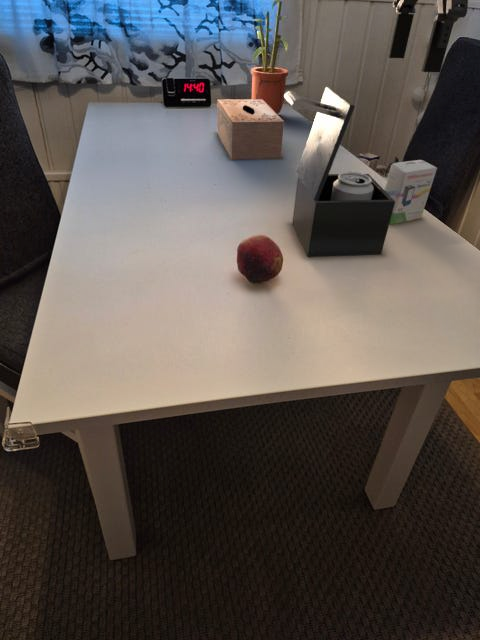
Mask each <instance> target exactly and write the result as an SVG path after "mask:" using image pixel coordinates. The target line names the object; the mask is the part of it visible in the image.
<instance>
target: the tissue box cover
mask: <svg viewBox="0 0 480 640" xmlns="http://www.w3.org/2000/svg"><path fill="white" fill-rule="evenodd" d="M216 101H217V106H216V107H217V109H216V110H217V111H216V112H217V113H216V114H217V117H216V119H217V120H216V121H217V122H216V123H217V124H216V126H217V130H216V132H217V135H218V137H219V139H220V141H221V143H222V145H223V147H224V148H225V151H226V153H227V155H228V156H229V158H230V160H232V161H235V160H266V159H267V160H268V159H272V160H273V159H282V149H283V138H284V127H285V121H284V119H283V118H281V117H280V116H279V114H276V113H275V112H274V111H273V110H272V109H271V108H270V107H269V106H268V105H267V104H266V102H265V101H264V100H263V99H252V98H251V99H250V98H249V99H247V98H246V99H245V98H244V99H239V98H238V99H235V98H234V99H232V98H231V99H230V98H229V99H217V100H216Z"/></svg>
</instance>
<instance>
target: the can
mask: <svg viewBox="0 0 480 640" xmlns="http://www.w3.org/2000/svg"><path fill="white" fill-rule="evenodd" d="M338 174H339V175H338V179H337V180H336V181H335V182H334V183H333V189H332V195H331V200H330V201H350V200H371V199H372V194H373V190H374V188H373V185H372V184H371V182H372V179H371V178H370V177H369V176H367V175H365V174H366V173H362V172H355V171H345V172H341V173H338Z"/></svg>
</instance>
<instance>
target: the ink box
mask: <svg viewBox="0 0 480 640" xmlns="http://www.w3.org/2000/svg"><path fill="white" fill-rule="evenodd" d="M437 171H438V167H436V166H435V165H433V164H431V163H429V162H427V161H426V160H423V159H417V160H416V159H415V160H407V161H399V162H398V161H397V162H393V163H391V165H390V168H389V171H388V175H387V179H386V183H385V187H384V190H385V191H386V192H387V193H388V195H389V196H390V197H391V198H392V199H393V200H394V201H395V205H394V208H393V212H392V216H391V220H390V223H389V225H395V224H399V223H405V222H409V221H414V220H418V219H422V216H423V214H424V211H425V207H426V204H427V201H428V198H429V195H430V192H431V188H432V186H433V182H434V179H435V177H436V173H437Z"/></svg>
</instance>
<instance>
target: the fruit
mask: <svg viewBox="0 0 480 640" xmlns="http://www.w3.org/2000/svg"><path fill="white" fill-rule="evenodd" d="M236 265H237V270H238V272H239V274H241V275H242V276H243V277H244V278H245V279H246V280H247V281H248V282H249V283H251V284H258V285H259V284H263V283H265V282H268V281H271V280H272V279H274V278H276V277H277V276H278V275H279V274H280V273H281V271H282V270H283V265H284V256H283V252H282V251H281V248H280V246H279V245H278V244H277V243H276V242H275V241H274V240H273V239H272V238H271V237H269V236H268V235H265V234H256V235H252V236H250V237H248V238H245V239H243V240H242V241H241V242H240V243H239V244H238V246H237V248H236Z"/></svg>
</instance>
